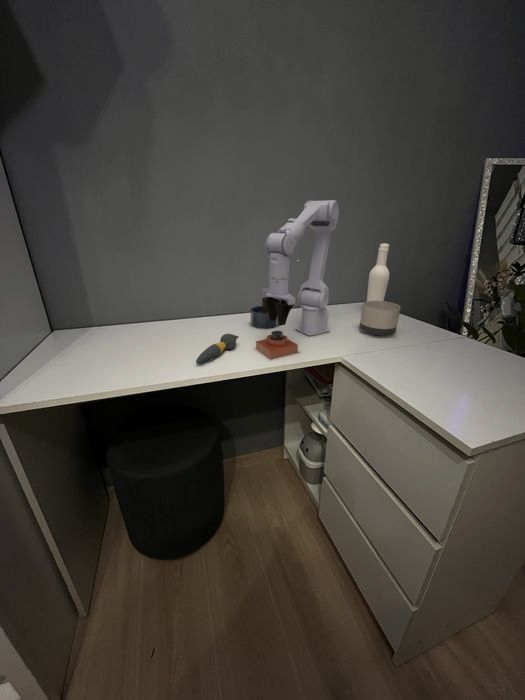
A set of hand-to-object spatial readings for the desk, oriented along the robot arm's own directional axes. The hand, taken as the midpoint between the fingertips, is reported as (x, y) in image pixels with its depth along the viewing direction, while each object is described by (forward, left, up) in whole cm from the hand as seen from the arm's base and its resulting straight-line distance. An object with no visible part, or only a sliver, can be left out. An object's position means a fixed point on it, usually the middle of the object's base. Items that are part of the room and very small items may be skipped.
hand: (277, 322), depth 91 cm
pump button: (0, 0, -5) cm, 5 cm away
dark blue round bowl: (-10, -25, -9) cm, 28 cm away
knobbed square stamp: (0, 0, -9) cm, 9 cm away
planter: (-42, +4, -10) cm, 43 cm away
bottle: (-57, -11, -10) cm, 59 cm away
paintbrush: (+17, -6, -10) cm, 20 cm away
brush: (-10, -25, -9) cm, 28 cm away
